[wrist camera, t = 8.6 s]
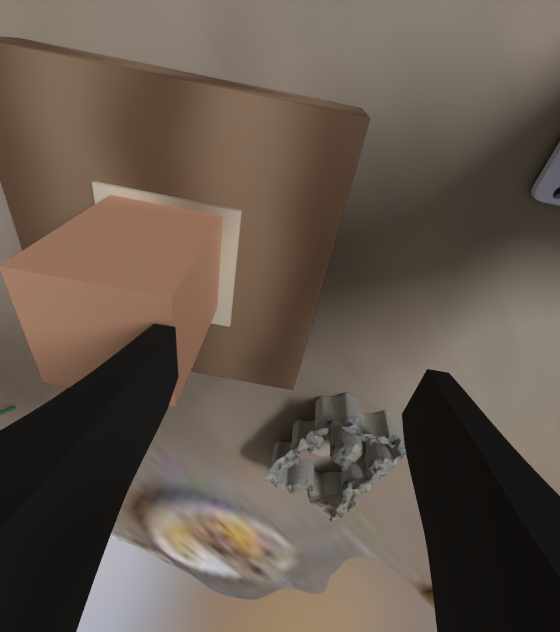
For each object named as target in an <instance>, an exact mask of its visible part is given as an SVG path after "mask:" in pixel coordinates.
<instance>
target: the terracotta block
mask: <svg viewBox="0 0 560 632" xmlns="http://www.w3.org/2000/svg"><path fill="white" fill-rule="evenodd" d="M222 227H223V216H219V215H213V214H208V213H203V212H198V211H193V210H187V209H182V208H177V207H172V206H166V205H161V204H156V203H151V202H146V201H140V200H135V199H130V198H125V197H120V196H114V195H109V196H108V197H106V198H104V199H103V200H101V201H100V202H98V203H97V204H95V205H93V206H92V207H90V208H89V209H87V210H86V211H84V212H82V213H81V214H79V215H78V216H76V217H75V218H73V219H71V220H70V221H68V222H67V223H65V224H64V225H62V226H61V227H59V228H57V229H56V230H54V231H53V232H51V233H50V234H48V235H46V236H45V237H43V238H42V239H40V240H39V241H37V242H35V243H34V244H32V245H31V246H29V247H28V248H26V249H25V250H23V251H21V252H20V253H18V254H17V255H15V256H14V257H12V258H10V259H9V260H7V261H6V262H4V263H3V264H1V265H0V271H1V274H2V276H3V279H4V282H5V284H6V287H7V289H8V292H9V295H10V297H11V300H12V302H13V305H14V308H15V310H16V313H17V316H18V318H19V321H20V323H21V326H22V329H23V331H24V334H25V336H26V339H27V342H28V344H29V347H30V350H31V352H32V355H33V357H34V360H35V363H36V365H37V368H38V370H39V373H40V376H41V378H42V381H43V383H47V384H53V385H58V386H64V387H71V386H72V385H73V384H75V383H76V382H78V381H79V380H81V379H82V378H84V377H85V376H86V375H88V374H89V373H91V372H92V371H93V370H95V369H96V368H97V367H99V366H100V365H101V364H103V363H104V362H105V361H107V360H108V359H109V358H111V357H112V356H113V355H114V354H116V353H117V352H118V351H120V350H121V349H122V348H123V347H125V346H126V345H127V344H129V343H130V342H131V341H132V340H134V339H135V338H136V337H137V336H139V335H140V334H141V333H142V332H144V331H145V330H146V329H147V328H149V327H150V326H151V325H153V324H154V323H155V324H161V325H167V326H173V327H176V342H177V358H178V374H179V377H178V380H177V383H176V386H175V389H174V392H173V395H172V398H171V401H170V403H169V406H174V407H176V405H177V403H178V400H179V398H180V395H181V393H182V391H183V388H184V386H185V384H186V381H187V379H188V376H189V374H190V372H191V369H192V367H193V365H194V362H195V360H196V357H197V355H198V353H199V350H200V348H201V345H202V343H203V341H204V338H205V336H206V334H207V331H208V329H209V326H210V324H211V322H212V319H213V317H214V315H215V312H216V310H217V307H218V292H219V276H220V259H221V243H222Z"/></svg>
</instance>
